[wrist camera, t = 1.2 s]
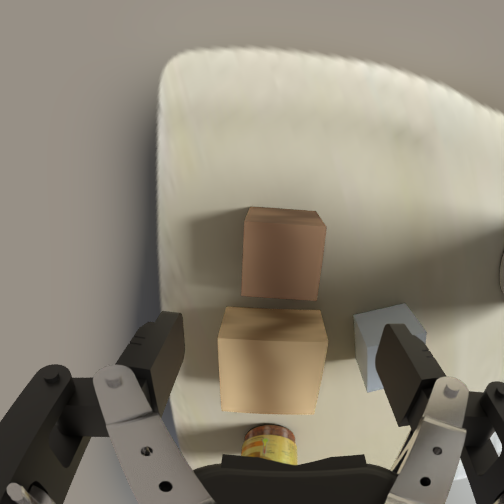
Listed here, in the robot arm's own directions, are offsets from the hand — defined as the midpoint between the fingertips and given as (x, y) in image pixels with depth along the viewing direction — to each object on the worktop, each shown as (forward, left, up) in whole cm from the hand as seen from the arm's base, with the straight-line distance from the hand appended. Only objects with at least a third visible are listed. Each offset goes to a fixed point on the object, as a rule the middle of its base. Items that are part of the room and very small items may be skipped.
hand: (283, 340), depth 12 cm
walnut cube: (0, 0, -13) cm, 13 cm away
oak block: (0, +10, -14) cm, 17 cm away
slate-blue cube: (-10, +8, -13) cm, 19 cm away
